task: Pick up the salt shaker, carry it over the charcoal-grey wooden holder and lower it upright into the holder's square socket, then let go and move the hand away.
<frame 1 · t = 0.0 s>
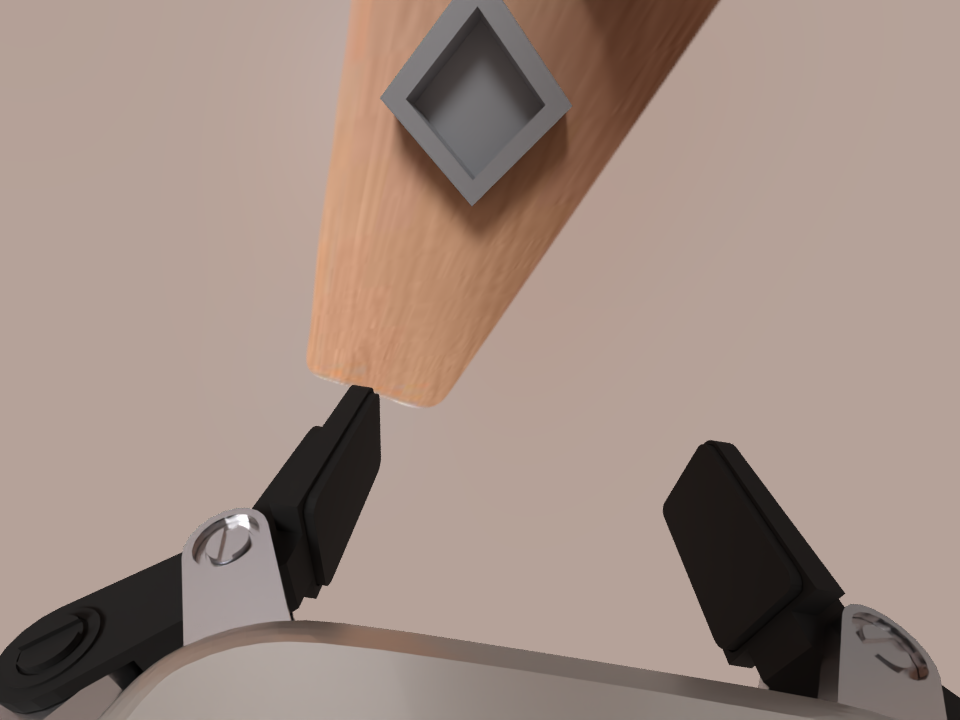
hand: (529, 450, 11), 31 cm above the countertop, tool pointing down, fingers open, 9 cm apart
holder: (479, 107, 32), on the countertop
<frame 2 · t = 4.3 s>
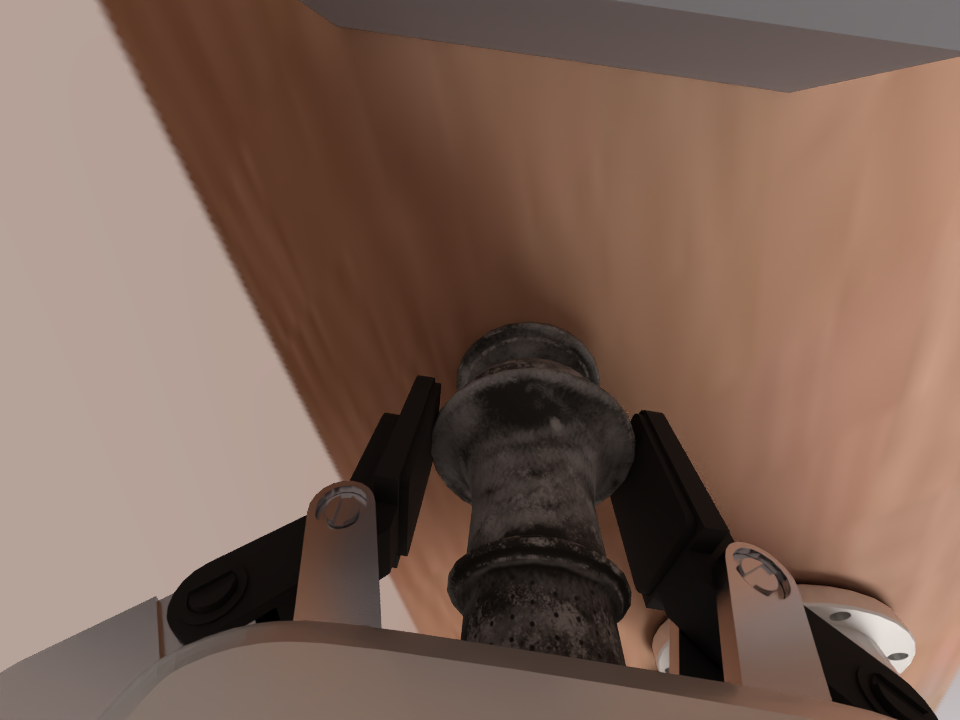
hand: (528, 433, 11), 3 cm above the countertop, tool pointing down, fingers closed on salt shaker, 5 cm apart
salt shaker: (526, 383, 14), on the countertop, touching gripper
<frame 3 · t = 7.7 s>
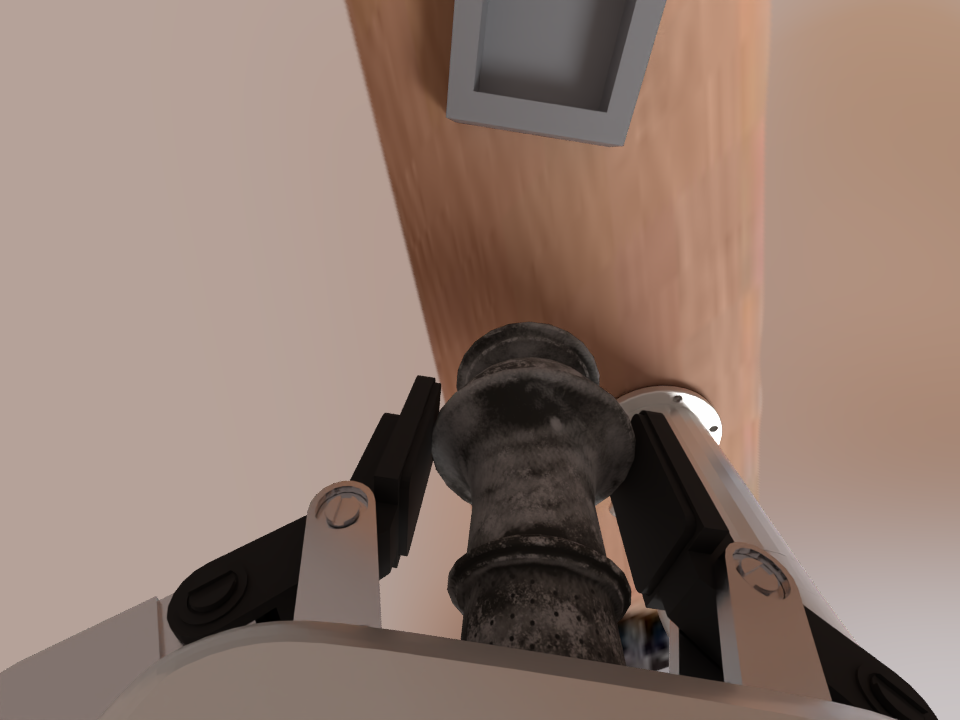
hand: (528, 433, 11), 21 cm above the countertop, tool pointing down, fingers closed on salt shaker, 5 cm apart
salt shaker: (526, 383, 14), point 19 cm above the countertop, touching gripper
holder: (550, 32, 23), on the countertop
when the fingers open (5 cm above the countertop, at t = 11.6 s): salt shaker drops 1 cm, resting on holder.
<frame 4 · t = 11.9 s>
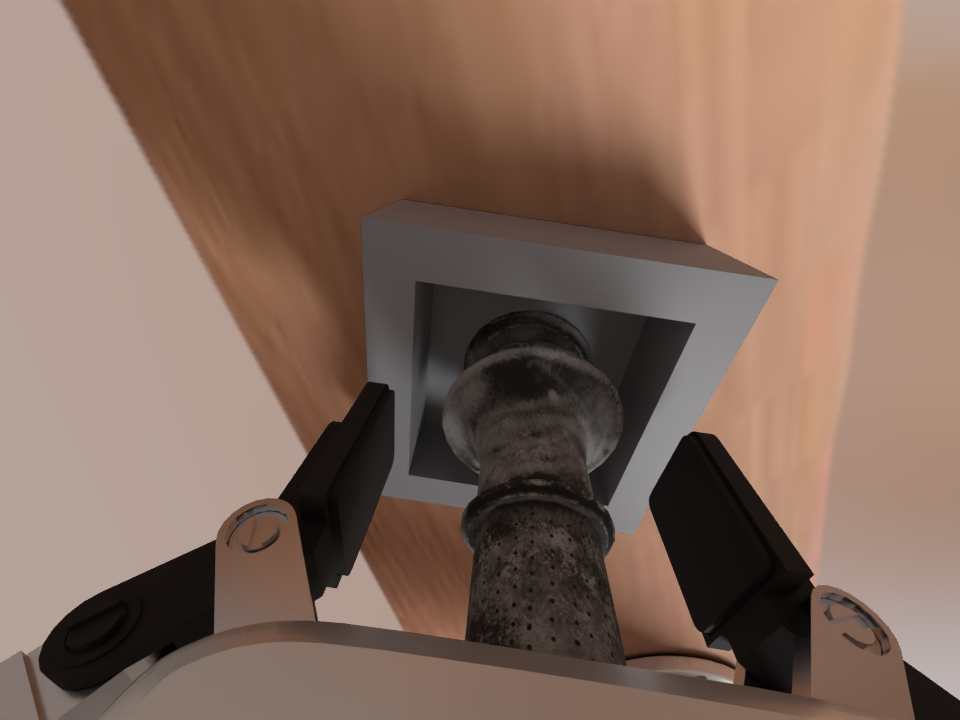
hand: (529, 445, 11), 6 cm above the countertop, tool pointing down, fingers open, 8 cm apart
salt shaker: (527, 367, 15), point 1 cm above the countertop, touching holder
holder: (524, 354, 16), on the countertop
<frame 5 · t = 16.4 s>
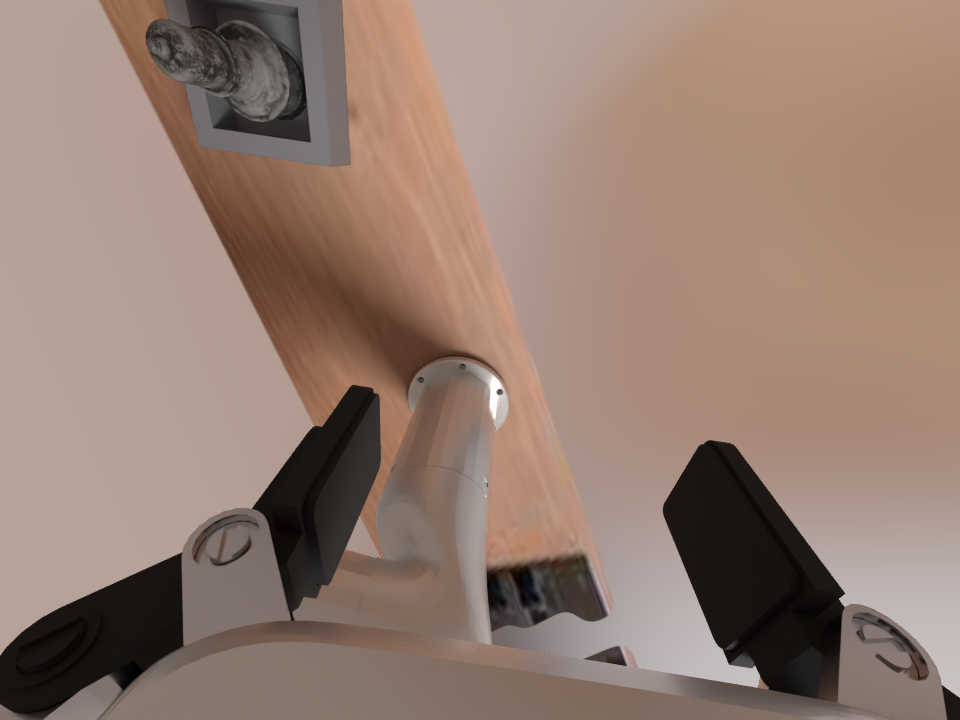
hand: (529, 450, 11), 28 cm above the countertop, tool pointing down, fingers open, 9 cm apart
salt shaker: (278, 82, 29), point 1 cm above the countertop, touching holder
holder: (282, 81, 30), on the countertop
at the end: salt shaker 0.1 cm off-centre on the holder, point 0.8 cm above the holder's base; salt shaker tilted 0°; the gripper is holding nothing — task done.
